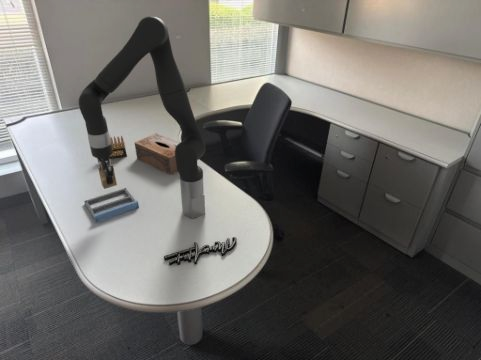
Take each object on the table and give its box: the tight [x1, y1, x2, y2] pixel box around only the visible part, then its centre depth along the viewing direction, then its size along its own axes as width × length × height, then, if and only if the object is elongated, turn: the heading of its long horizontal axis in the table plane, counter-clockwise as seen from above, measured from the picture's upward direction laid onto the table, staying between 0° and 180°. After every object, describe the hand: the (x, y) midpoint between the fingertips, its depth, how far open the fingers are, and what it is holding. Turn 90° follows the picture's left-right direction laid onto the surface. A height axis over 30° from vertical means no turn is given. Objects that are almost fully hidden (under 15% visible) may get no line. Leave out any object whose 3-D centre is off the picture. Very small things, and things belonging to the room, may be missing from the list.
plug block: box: [97, 164, 118, 190], centre depth 133 cm, size 3×5×8 cm, turn 126°
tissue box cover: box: [133, 133, 180, 176], centre depth 175 cm, size 26×14×10 cm, turn 54°
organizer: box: [84, 187, 140, 223], centre depth 144 cm, size 15×18×3 cm
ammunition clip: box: [109, 135, 128, 160], centre depth 176 cm, size 11×2×12 cm, turn 111°
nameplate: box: [163, 236, 237, 266], centre depth 123 cm, size 27×2×10 cm
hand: (108, 181), depth 134 cm, fingers closed on plug block, 3 cm apart
